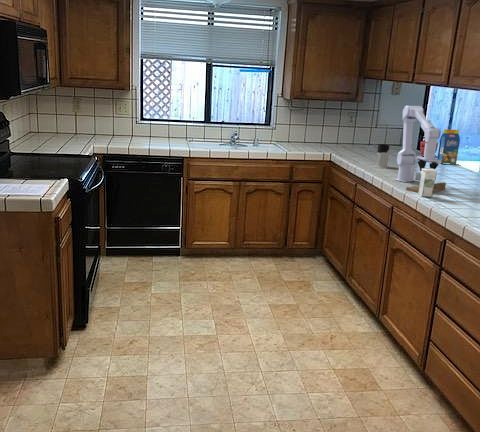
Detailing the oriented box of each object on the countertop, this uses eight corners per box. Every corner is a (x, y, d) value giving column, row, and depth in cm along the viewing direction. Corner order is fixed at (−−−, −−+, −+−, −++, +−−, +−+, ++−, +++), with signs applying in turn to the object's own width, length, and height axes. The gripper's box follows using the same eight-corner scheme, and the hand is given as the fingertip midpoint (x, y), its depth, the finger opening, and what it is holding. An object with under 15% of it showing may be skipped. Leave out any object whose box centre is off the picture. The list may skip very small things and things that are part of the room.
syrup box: (428, 194, 275) (432, 168, 271) (432, 197, 269) (436, 170, 265) (417, 194, 275) (421, 167, 271) (421, 197, 269) (425, 169, 265)
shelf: (429, 186, 297) (430, 179, 296) (444, 189, 290) (446, 182, 289) (406, 189, 284) (407, 182, 283) (421, 193, 277) (422, 186, 276)
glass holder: (388, 168, 348) (390, 146, 344) (366, 166, 351) (369, 144, 347) (387, 166, 356) (389, 144, 352) (366, 164, 359) (368, 143, 355)
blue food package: (456, 164, 378) (461, 130, 371) (441, 164, 376) (446, 129, 369) (451, 163, 384) (456, 129, 377) (436, 162, 382) (441, 128, 375)
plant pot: (438, 157, 410) (441, 142, 406) (431, 158, 400) (434, 143, 397) (423, 154, 418) (425, 140, 415) (415, 156, 409) (417, 141, 406)
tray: (427, 178, 292) (429, 169, 290) (435, 179, 288) (437, 171, 287) (415, 179, 285) (416, 171, 283) (423, 181, 281) (424, 172, 280)
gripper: (414, 148, 285) (410, 173, 289) (437, 152, 274) (433, 177, 278) (421, 148, 289) (418, 172, 293) (445, 152, 278) (441, 176, 282)
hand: (426, 174), depth 286 cm, fingers closed on tray, 5 cm apart
